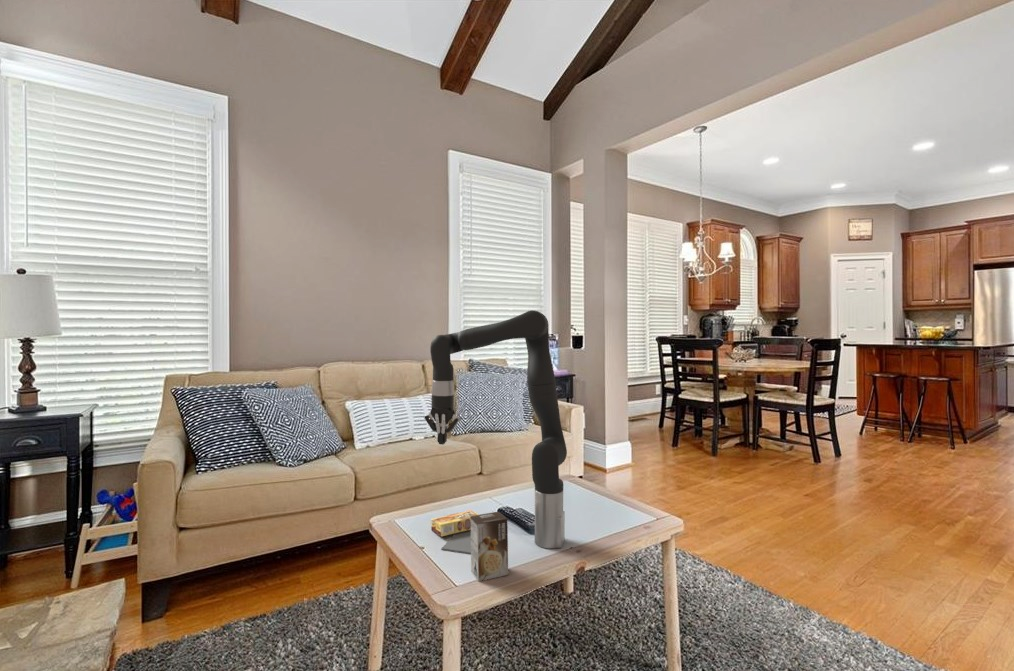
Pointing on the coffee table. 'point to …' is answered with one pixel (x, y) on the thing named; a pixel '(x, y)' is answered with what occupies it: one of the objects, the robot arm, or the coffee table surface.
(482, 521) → the coffee box
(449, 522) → the candy box
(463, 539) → the mat
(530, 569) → the coffee table surface
